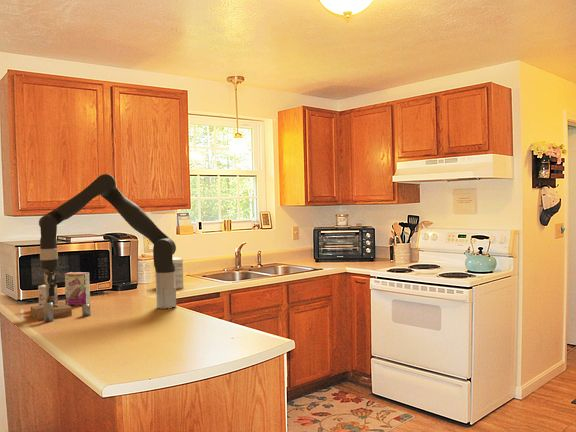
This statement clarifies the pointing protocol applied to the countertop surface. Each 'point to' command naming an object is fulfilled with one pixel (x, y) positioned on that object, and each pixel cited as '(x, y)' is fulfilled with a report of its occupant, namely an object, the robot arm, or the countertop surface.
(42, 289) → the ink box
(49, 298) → the long pin
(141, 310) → the countertop surface
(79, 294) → the candy bar box
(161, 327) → the countertop surface
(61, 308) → the hole board
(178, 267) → the supplement box
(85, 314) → the short pin
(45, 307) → the medium pin
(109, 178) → the robot arm
